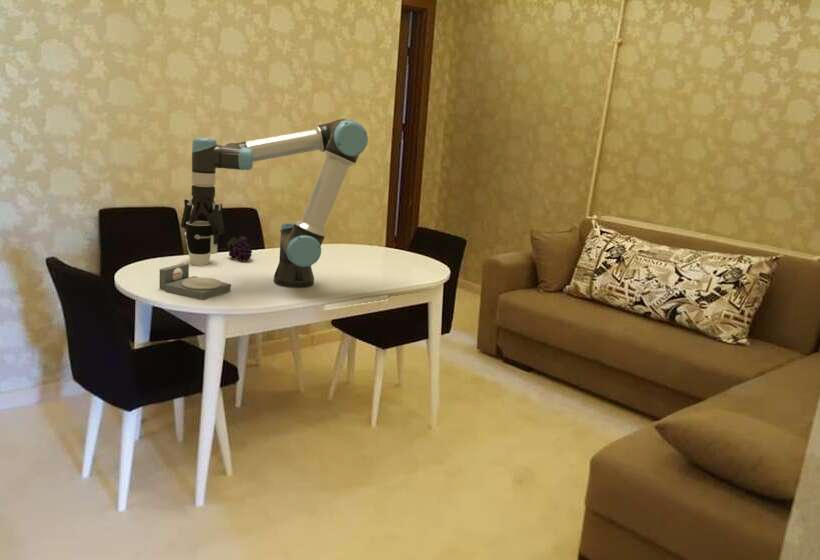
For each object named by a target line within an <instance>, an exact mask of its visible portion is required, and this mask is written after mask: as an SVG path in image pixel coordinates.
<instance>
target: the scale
mask: <svg viewBox="0 0 820 560" xmlns="http://www.w3.org/2000/svg"><path fill="white" fill-rule="evenodd" d="M189 265H190V264H188V263H179V264H176V265H171V266H167V267H163V268H159V290H163V291H164V292H165V293H170V294H173V295H178V296H183V297H188V298H192V299H195V298H196V300H200V299H201V301H204V300H205V301H206V300H208V299H211V298H213V297H216V296H219V295H223V294H226V293H229V292H231V283H227V282H223V281H221V280H220V279H216V278H214V277H213V278H212V277H204V276H203V277H201V276H200V277H199V276H196V275H195V276H193V275H192V276H190V275H189V274H190V267H189Z"/></svg>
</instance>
